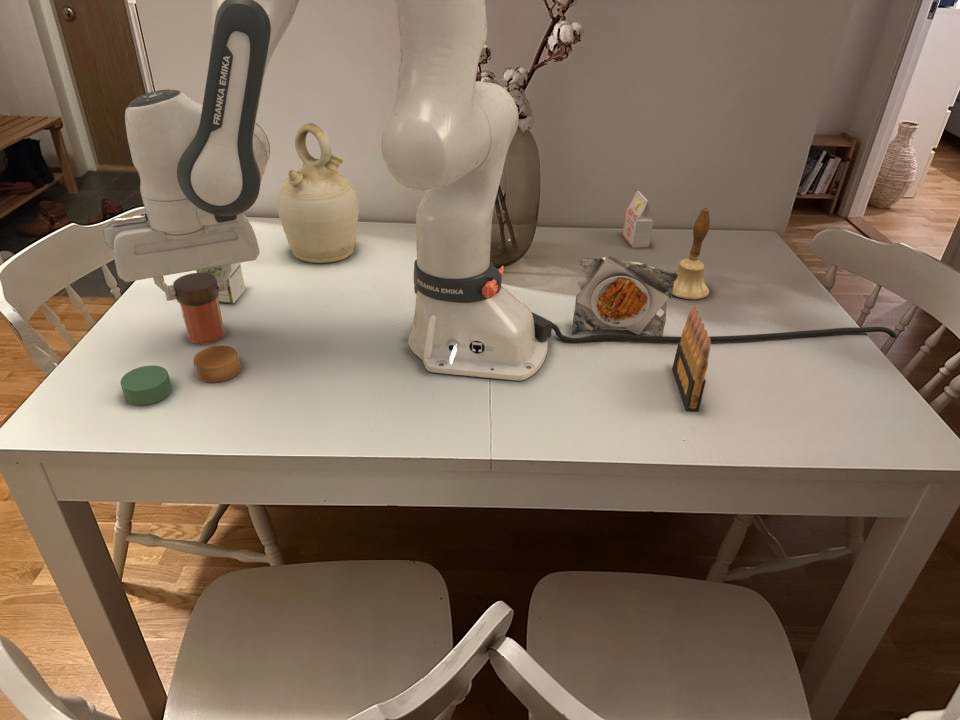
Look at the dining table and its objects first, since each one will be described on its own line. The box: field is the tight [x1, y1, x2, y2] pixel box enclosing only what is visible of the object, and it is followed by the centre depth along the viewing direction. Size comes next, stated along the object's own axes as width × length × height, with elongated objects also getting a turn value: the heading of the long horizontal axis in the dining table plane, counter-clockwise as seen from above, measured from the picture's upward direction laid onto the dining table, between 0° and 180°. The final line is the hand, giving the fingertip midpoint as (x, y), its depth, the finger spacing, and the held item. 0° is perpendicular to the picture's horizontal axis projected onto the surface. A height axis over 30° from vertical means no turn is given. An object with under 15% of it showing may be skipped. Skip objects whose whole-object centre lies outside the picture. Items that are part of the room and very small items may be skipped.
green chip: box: [119, 365, 173, 407], centre depth 97 cm, size 6×6×3 cm
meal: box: [571, 256, 678, 336], centre depth 112 cm, size 15×4×13 cm, turn 81°
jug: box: [277, 122, 360, 264], centre depth 132 cm, size 15×16×25 cm
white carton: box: [621, 190, 654, 249], centre depth 145 cm, size 4×7×10 cm, turn 8°
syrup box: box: [195, 263, 246, 304], centre depth 118 cm, size 6×6×14 cm
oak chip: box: [193, 344, 241, 384], centre depth 102 cm, size 6×6×3 cm
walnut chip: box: [172, 272, 219, 306], centre depth 107 cm, size 6×6×3 cm
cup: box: [179, 298, 225, 345], centre depth 109 cm, size 6×6×7 cm
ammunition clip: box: [671, 304, 712, 412], centre depth 100 cm, size 11×2×12 cm, turn 178°
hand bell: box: [672, 207, 711, 301], centre depth 125 cm, size 8×8×16 cm
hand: (197, 293), depth 107 cm, fingers closed on walnut chip, 6 cm apart
